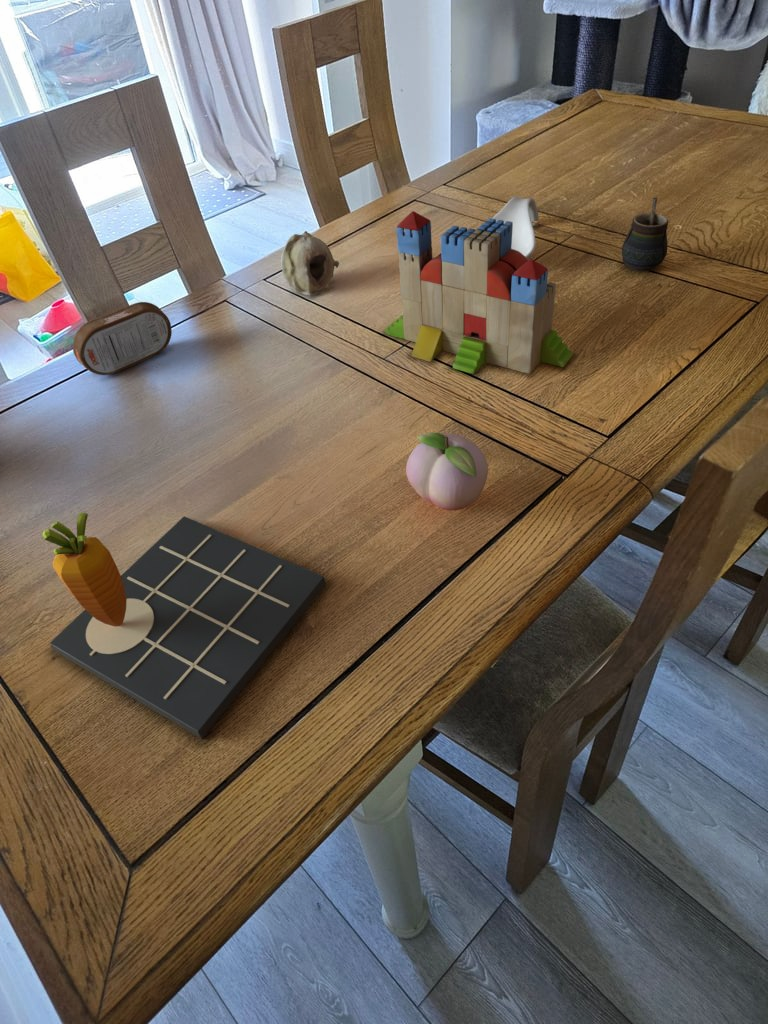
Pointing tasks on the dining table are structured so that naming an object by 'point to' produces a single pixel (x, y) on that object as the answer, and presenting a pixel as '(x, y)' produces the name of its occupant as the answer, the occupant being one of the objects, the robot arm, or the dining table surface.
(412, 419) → the dining table surface
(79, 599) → the carrot
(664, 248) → the mate gourd
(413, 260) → the block set
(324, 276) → the beige rounded lump
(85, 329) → the tin
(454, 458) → the decorative fruit
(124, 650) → the grid board
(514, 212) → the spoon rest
